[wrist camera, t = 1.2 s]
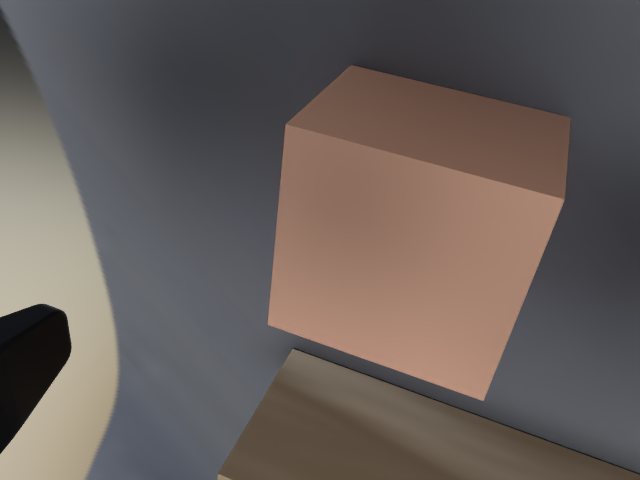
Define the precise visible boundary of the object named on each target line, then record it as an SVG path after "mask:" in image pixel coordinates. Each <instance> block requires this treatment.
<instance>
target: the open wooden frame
mask: <svg viewBox="0 0 640 480" xmlns="http://www.w3.org/2000/svg"><path fill="white" fill-rule="evenodd" d="M218 480H640V475H639V474H636V473H633V472H631V471H628V470H625V469H622V468H620V467H617V466H614V465H611V464H609V463H606V462H603V461H600V460H598V459H595V458H592V457H589V456H587V455H584V454H581V453H578V452H576V451H573V450H570V449H567V448H565V447H562V446H559V445H556V444H554V443H551V442H548V441H545V440H543V439H540V438H537V437H534V436H532V435H529V434H526V433H523V432H521V431H518V430H515V429H512V428H510V427H507V426H504V425H501V424H499V423H496V422H493V421H490V420H488V419H485V418H482V417H479V416H477V415H474V414H471V413H468V412H466V411H463V410H460V409H457V408H455V407H452V406H449V405H446V404H444V403H441V402H438V401H435V400H433V399H430V398H427V397H424V396H422V395H419V394H416V393H413V392H411V391H408V390H405V389H402V388H400V387H397V386H394V385H391V384H389V383H386V382H383V381H380V380H378V379H375V378H372V377H369V376H367V375H364V374H361V373H358V372H356V371H353V370H350V369H347V368H345V367H342V366H339V365H336V364H334V363H331V362H328V361H325V360H323V359H320V358H317V357H314V356H312V355H309V354H306V353H303V352H301V351H298V350H295V349H292V350H291V352H290V354H289V355H288V357H287V359H286V361H285V362H284V364H283V366H282V367H281V369H280V371H279V372H278V374H277V376H276V377H275V379H274V381H273V382H272V384H271V386H270V387H269V389H268V391H267V392H266V394H265V396H264V397H263V399H262V401H261V402H260V404H259V406H258V408H257V409H256V411H255V413H254V414H253V416H252V418H251V419H250V421H249V423H248V424H247V426H246V428H245V429H244V431H243V433H242V434H241V436H240V438H239V439H238V441H237V443H236V444H235V446H234V448H233V450H232V451H231V453H230V455H229V456H228V458H227V460H226V461H225V463H224V465H223V466H222V468H221V470H220V471H219V473H218Z"/></svg>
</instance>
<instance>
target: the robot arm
mask: <svg viewBox="0 0 640 480" xmlns="http://www.w3.org/2000/svg"><path fill="white" fill-rule="evenodd" d="M70 353H71V339H70V333H69V327H68V320H67V316H66V314H65V313H64V312H63V311H62V310H59V309H57V308H55V307H52V306H49V305H46V304H37V305H34V306H31V307H28V308H25V309H22V310H20V311H17V312H14V313H11V314H9V315H6V316H3V317H0V454H1V452H2V451H3V450H4V449H5V447H6V446H7V445H8V444H9V443H10V441H11V440H12V439H13V438H14V436H15V435H16V433H17V432H18V431H19V430H20V428H21V427H22V425H23V424H24V423H25V421H26V420H27V418H28V417H29V415H30V414H31V412H32V411H33V410H34V408H35V407H36V405H37V404H38V402H39V401H40V400H41V398H42V397H43V395H44V394H45V392H46V391H47V390H48V388H49V387H50V385H51V384H52V382H53V381H54V379H55V378H56V377H57V375H58V373H59V372H60V371H61V369H62V368H63V366H64V365H65V364H66V362H67V360H68V358H69V356H70Z"/></svg>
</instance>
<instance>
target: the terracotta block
mask: <svg viewBox="0 0 640 480" xmlns="http://www.w3.org/2000/svg"><path fill="white" fill-rule="evenodd" d="M570 124H571V117H567V116H562V115H558V114H554V113H550V112H546V111H541V110H537V109H533V108H529V107H525V106H521V105H516V104H512V103H508V102H504V101H500V100H496V99H491V98H487V97H483V96H479V95H475V94H470V93H466V92H462V91H458V90H454V89H450V88H445V87H441V86H437V85H433V84H429V83H425V82H420V81H416V80H412V79H408V78H404V77H399V76H395V75H391V74H387V73H383V72H379V71H374V70H370V69H366V68H362V67H358V66H353V65H350V66H349V67H348V68H347V69H346V70H345V71H344V72H343V73H342V74H341V75H339V76H338V77H337V78H336V79H335V80H334V81H333V82H332V83H331V84H329V85H328V86H327V87H326V88H325V89H324V90H323V91H322V92H321V93H320V94H318V95H317V96H316V97H315V98H314V99H313V100H312V101H311V102H310V103H308V104H307V105H306V106H305V107H304V108H303V109H302V110H301V111H300V112H299V113H297V114H296V115H295V116H294V117H293V118H292V119H291V120H290V121H289V122H287V123H286V125H285V136H284V147H283V159H282V170H281V181H280V192H279V203H278V214H277V226H276V237H275V248H274V259H273V270H272V282H271V293H270V304H269V315H268V325H270V326H272V327H275V328H278V329H281V330H284V331H287V332H289V333H292V334H295V335H298V336H301V337H304V338H306V339H309V340H312V341H315V342H318V343H321V344H323V345H326V346H329V347H332V348H335V349H338V350H340V351H343V352H346V353H349V354H352V355H355V356H357V357H360V358H363V359H366V360H369V361H372V362H374V363H377V364H380V365H383V366H386V367H388V368H391V369H394V370H397V371H400V372H403V373H405V374H408V375H411V376H414V377H417V378H420V379H422V380H425V381H428V382H431V383H434V384H437V385H439V386H442V387H445V388H448V389H451V390H454V391H456V392H459V393H462V394H465V395H468V396H471V397H473V398H476V399H479V400H482V401H484V398H485V396H486V393H487V391H488V388H489V386H490V384H491V381H492V379H493V376H494V374H495V371H496V369H497V366H498V364H499V361H500V359H501V356H502V354H503V351H504V349H505V346H506V344H507V341H508V339H509V337H510V334H511V332H512V329H513V327H514V324H515V322H516V319H517V317H518V314H519V312H520V309H521V307H522V304H523V302H524V299H525V297H526V294H527V292H528V289H529V287H530V285H531V282H532V280H533V277H534V275H535V272H536V270H537V267H538V265H539V262H540V260H541V257H542V255H543V252H544V250H545V247H546V245H547V242H548V240H549V238H550V235H551V233H552V230H553V228H554V225H555V223H556V220H557V218H558V215H559V213H560V210H561V208H562V205H563V203H564V200H565V191H566V178H567V164H568V151H569V138H570Z"/></svg>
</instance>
